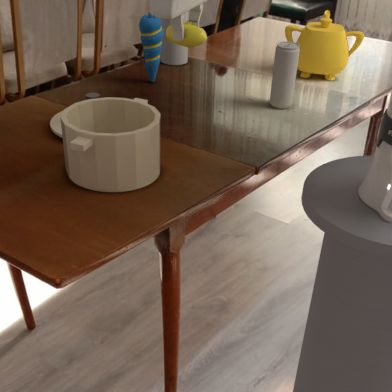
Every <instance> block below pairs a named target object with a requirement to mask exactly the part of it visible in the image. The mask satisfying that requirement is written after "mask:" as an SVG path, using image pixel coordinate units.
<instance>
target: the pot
mask: <svg viewBox="0 0 392 392" xmlns="http://www.w3.org/2000/svg"><path fill="white" fill-rule="evenodd" d="M148 101H149V100H148V99H144V98H139V97H134V98H128V97H114V96H112V97H111V96H108V97H100V98H96V99H88V100H86V99H84V100H81V101H78V102H74V103H72V104H70V105H69V106H67V107H66V108H64V109H63V110H62V111H63V113H62V115H61V117H60V119H61V128H62V137H63V138H62V145H63V154H64V164H65V170H66V174H67V177H68V178H69V180H70V181H71V182H73V183H74V184H75V185H77V186H79V187H81V188H84V189H87V190H90V191H94V192H102V193H124V192H130V191H131V192H132V191H135V190H139V189H142V188H145V187H147V186H149V185H151V184H153V183H154V182H156V180H157V179H158V178H159V176H160V174H161V169H162V168H161V167H162V115H161V112H160V111H159V110H158V109H157V108H156V107H155V106H153V105H152V104H149V103H148Z"/></svg>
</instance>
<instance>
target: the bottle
mask: <svg viewBox="0 0 392 392" xmlns="http://www.w3.org/2000/svg"><path fill="white" fill-rule="evenodd" d="M189 14H190V10H189V11H187V12H185V13H184V19H183V22H187V21H188V20H189ZM161 21H162V28H163V32H164V35H163V38H162V50H161V53H160V63H163V64H165V65H169V66H181V65H185V64H188V61H189V60H188V58H189V47H184V46H181V45H178V44H174V43H172V42H170V41H169V40H168V38H167V36H166V30H167V28H168V27H169V26H170V25H171V22H170V20H167V19H161Z"/></svg>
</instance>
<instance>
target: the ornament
mask: <svg viewBox="0 0 392 392" xmlns="http://www.w3.org/2000/svg"><path fill="white" fill-rule="evenodd" d="M138 28H139V31H140V42H141V44H142V47H143V48H142V54H143V57H144V67H145V70H146V73H147V75H148V78H149V81H150V82H151V83H155V81H156V78H157V77H156V76H157V73H158V69H159V67H160V63H161V50H162V38H163V35H164V32H163V28H162V21H161V19H160V18H155V17H154V16H153V14H152V11H151V10H148V11H147V14H144V15H142V16H141V17H140V19H139V22H138Z"/></svg>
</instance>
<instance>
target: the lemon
mask: <svg viewBox="0 0 392 392" xmlns="http://www.w3.org/2000/svg"><path fill="white" fill-rule="evenodd" d="M183 25H184V28H186V38H185V39H184V40H182V41H176V40H174V39H173V28H172V25H170V26H169V27H168V28H167V30H166V36H167V38H168V40H169V41H170V42H172V43H174V44H178V45H181V46H184V47H188V49H189V48H190V49H191V48H196V47H197V46H201V45H203V44H205V42H206V41H207V39H208V35H207V32H206V31H205V30H204V28H202V27H200V26H199V27H197V26H194V25H191V24H189V23H188V22H183Z"/></svg>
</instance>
